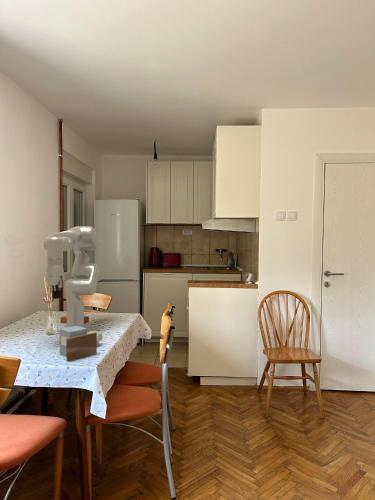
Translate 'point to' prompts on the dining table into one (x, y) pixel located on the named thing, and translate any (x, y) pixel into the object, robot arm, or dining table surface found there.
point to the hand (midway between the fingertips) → (55, 298)
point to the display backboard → (81, 346)
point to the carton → (64, 319)
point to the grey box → (69, 336)
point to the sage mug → (99, 336)
